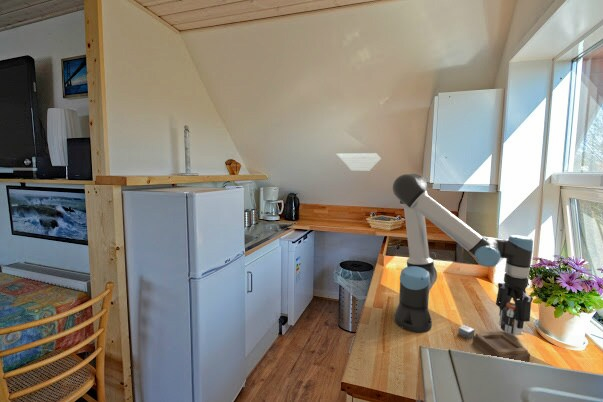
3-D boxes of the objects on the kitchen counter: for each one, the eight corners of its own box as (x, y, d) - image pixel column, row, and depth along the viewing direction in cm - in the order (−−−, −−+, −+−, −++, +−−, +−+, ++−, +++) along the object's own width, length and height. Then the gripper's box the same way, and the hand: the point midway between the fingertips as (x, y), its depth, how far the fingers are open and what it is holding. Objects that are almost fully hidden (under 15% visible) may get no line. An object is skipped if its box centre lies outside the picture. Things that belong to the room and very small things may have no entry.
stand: (497, 364, 96) (498, 353, 95) (472, 342, 107) (473, 333, 107) (529, 361, 97) (530, 351, 96) (501, 340, 109) (502, 331, 108)
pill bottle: (512, 336, 109) (516, 309, 107) (497, 328, 114) (500, 302, 113) (522, 333, 111) (525, 306, 110) (506, 325, 117) (509, 299, 115)
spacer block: (468, 339, 110) (469, 332, 109) (458, 334, 113) (458, 327, 113) (473, 336, 112) (474, 329, 112) (463, 331, 115) (464, 324, 115)
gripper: (548, 284, 101) (540, 344, 104) (505, 266, 119) (499, 316, 122) (529, 285, 100) (521, 345, 103) (489, 266, 119) (483, 317, 122)
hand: (509, 329), depth 113 cm, fingers closed on pill bottle, 6 cm apart
